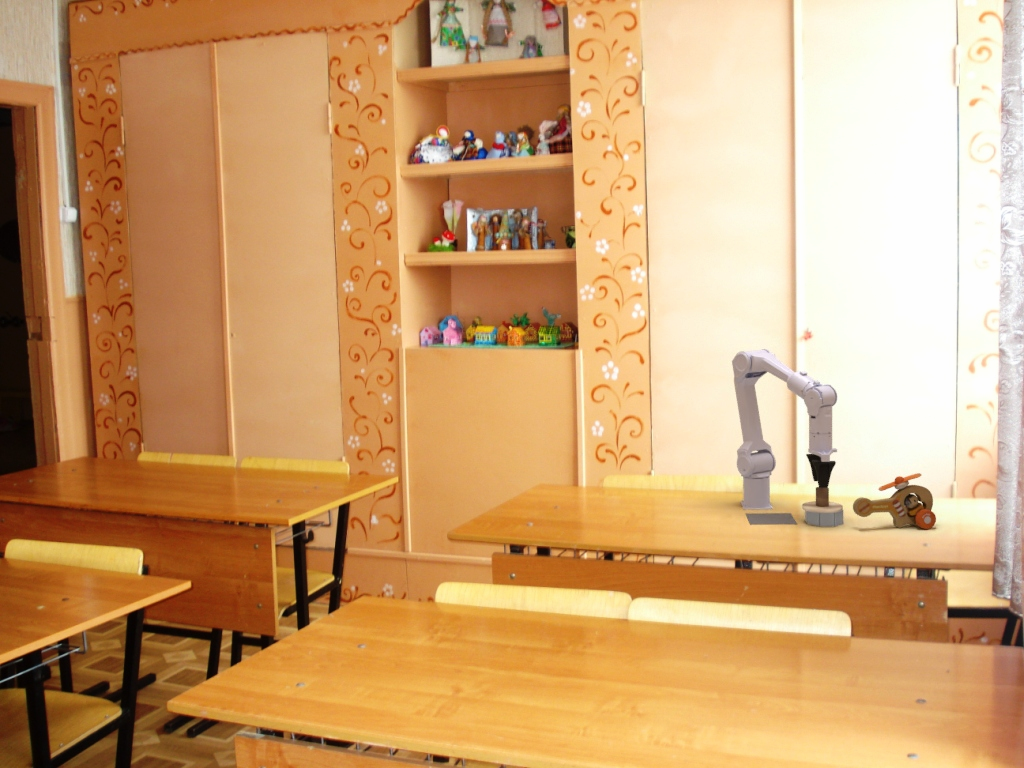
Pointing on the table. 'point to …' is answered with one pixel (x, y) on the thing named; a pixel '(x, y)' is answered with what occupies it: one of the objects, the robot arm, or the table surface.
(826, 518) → the bowl
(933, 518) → the toy helicopter
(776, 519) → the mat
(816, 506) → the lid
